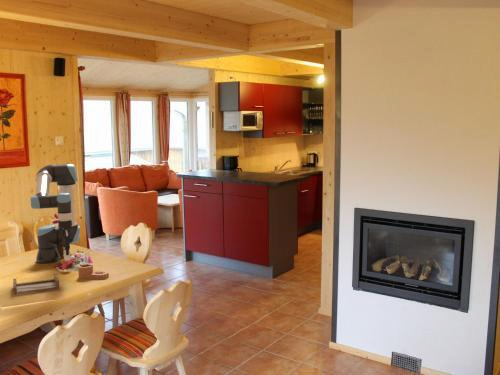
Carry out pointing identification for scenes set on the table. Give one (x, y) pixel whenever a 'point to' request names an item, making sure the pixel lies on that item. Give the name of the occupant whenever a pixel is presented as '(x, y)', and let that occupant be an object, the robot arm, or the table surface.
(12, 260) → the table surface
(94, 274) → the bracket
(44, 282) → the wooden window with sill
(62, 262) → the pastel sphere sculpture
